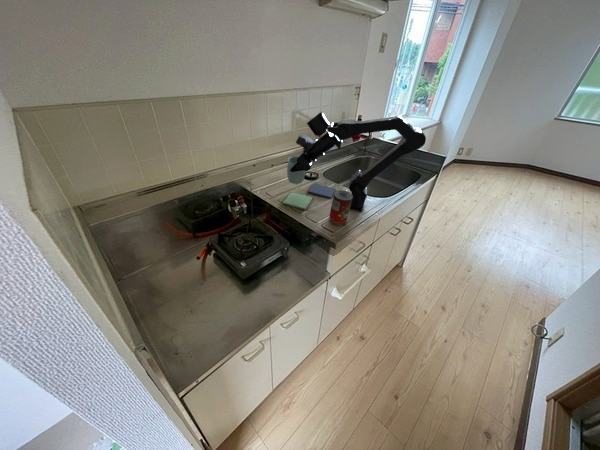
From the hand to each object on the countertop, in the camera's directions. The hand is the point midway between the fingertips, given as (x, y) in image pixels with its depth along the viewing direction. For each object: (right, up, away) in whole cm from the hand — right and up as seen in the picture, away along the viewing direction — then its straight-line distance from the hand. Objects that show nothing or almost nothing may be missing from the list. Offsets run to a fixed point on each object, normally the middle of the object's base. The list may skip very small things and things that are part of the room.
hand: (293, 167), depth 101 cm
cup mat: (+2, -14, +3) cm, 15 cm away
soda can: (+18, -23, -6) cm, 29 cm away
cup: (+1, -6, +4) cm, 7 cm away
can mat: (+13, -9, +12) cm, 20 cm away
